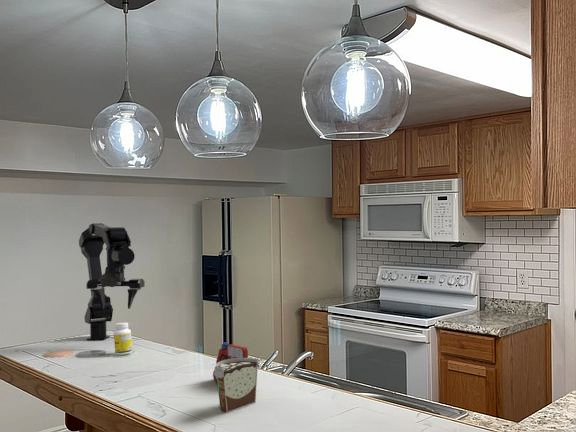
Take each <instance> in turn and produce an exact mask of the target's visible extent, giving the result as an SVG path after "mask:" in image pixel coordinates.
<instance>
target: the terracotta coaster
mask: <svg viewBox="0 0 576 432" xmlns="http://www.w3.org/2000/svg"><path fill="white" fill-rule="evenodd" d="M72 355H74V351H73V350H70V349H58V350H51V351H47V352H45V353H43V357H44V356H45V357H44V358H48V357H50V358H51V359H54V358H55V357H57V358H63V357H64V356H65V357H68V356H72Z"/></svg>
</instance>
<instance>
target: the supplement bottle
mask: <svg viewBox="0 0 576 432" xmlns="http://www.w3.org/2000/svg"><path fill="white" fill-rule="evenodd" d="M132 338H133V337H132V330H131V329H130V328H129V322H118V323H115V330H114V331H113V340H114V341H113V342H114V353H115V354H116V355H125V354H130V353H132V351H133V341H132V340H133V339H132Z"/></svg>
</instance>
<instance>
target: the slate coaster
mask: <svg viewBox="0 0 576 432" xmlns="http://www.w3.org/2000/svg"><path fill="white" fill-rule="evenodd" d="M106 354H107V351H106V350H100V349H94V350H93V349H92V350H91V349H90V350H84V351H81V352H77V353H76V357H78V358H86V359H87V358H88V359H89V358H97V357H103V356H105V355H106Z"/></svg>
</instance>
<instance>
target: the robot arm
mask: <svg viewBox="0 0 576 432" xmlns="http://www.w3.org/2000/svg"><path fill="white" fill-rule="evenodd" d="M131 243H132V241H131V238H130V235H129V234H128V231H127V230H126V228H125V227H123V226H121V227H112V226H108V225H106V224H104V223H101V222H100V223H93V222H92V223H91V224H89V225H88V228H86V229H85V230H84V231H83V232H81V234H80V237H79V238H78V247H79V248H80V252H81V254H82V255H83V256H84V258H86V262H87V263H86V264H87V270H88V279H89V280H88V281H86V289H87V290H88V289H89V290H90V295H91V297H90V299H89V301H88V303H87V308H86V311H85V313H84V323H85V324H89V327H90V328H89V329H90V330H89V333H90V336H89V337H87V338H86V340H87V341H102V340H103V341H104V340H107V339H108V338H110V337H111V335H107V322H112V320H113V313H114V308H113V305H112V301H111V296H107V295H106V294H105V293H106V292H105V288H106V287H108V288H109V287H110V288H115V287H129V288H128V289H127V293H128V295H127V309H128V310H130V309H131V307H132V304H133V302H134V299H135V297H136V295H137V293H138V291H139V290H141V289H142V288H144V287H146V285H145V280H144V279H143V278H132V279H128V280H126V277H125V269H126V266H127V265H130V264H132V263H133V262H134V260H135V252H134V251H133V249H131V248H130V247H132V246H131V245H132V244H131ZM104 245H106V247H105V250H106V267H105V269H104V270H105V271H104V273H103V274H102V264H101V263H102V262H101V257H100V256H101V254H102V252H103V250H104Z"/></svg>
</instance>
